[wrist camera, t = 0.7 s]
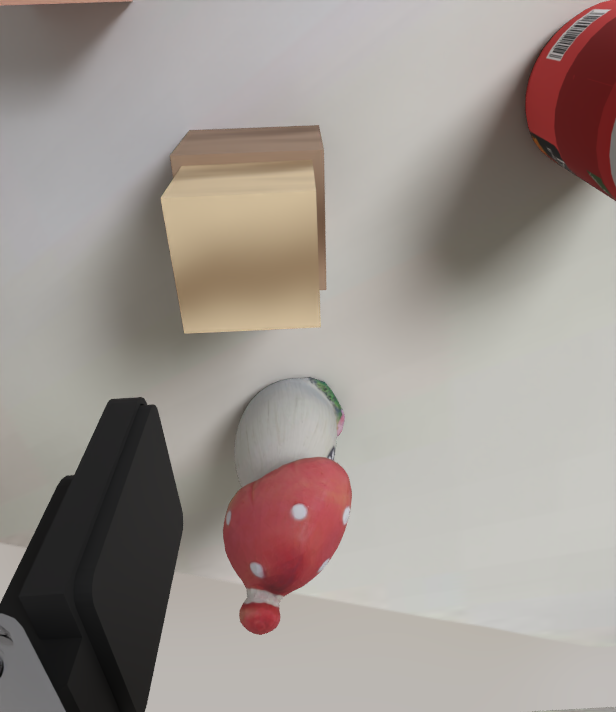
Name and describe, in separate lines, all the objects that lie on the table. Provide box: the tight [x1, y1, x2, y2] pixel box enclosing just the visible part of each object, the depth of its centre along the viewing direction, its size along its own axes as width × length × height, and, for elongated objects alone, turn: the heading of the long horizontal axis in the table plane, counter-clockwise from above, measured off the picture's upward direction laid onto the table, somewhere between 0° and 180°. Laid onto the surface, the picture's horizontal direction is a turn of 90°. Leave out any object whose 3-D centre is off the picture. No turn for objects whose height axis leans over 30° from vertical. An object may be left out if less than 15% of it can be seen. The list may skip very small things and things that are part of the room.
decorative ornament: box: [223, 377, 352, 635], centre depth 35 cm, size 9×7×15 cm
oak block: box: [160, 160, 321, 334], centre depth 26 cm, size 6×6×5 cm
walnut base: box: [170, 125, 326, 290], centre depth 31 cm, size 7×7×6 cm
